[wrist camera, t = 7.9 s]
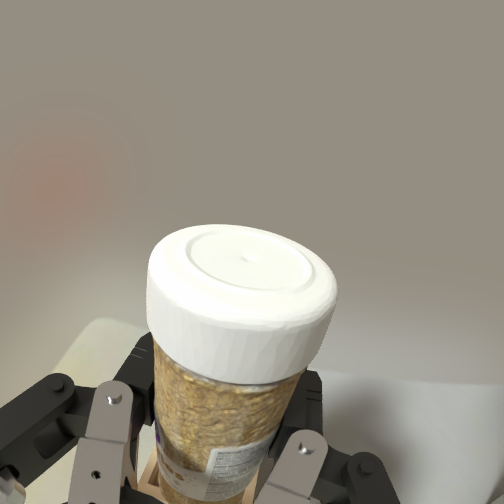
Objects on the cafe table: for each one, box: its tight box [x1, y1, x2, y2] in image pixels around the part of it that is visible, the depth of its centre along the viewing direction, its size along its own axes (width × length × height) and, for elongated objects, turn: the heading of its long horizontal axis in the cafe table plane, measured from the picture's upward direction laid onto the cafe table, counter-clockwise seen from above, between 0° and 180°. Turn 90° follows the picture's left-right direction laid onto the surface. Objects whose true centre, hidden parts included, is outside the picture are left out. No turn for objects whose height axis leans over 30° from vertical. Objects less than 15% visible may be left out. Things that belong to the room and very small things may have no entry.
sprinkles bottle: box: [147, 224, 338, 504], centre depth 10 cm, size 5×5×13 cm
